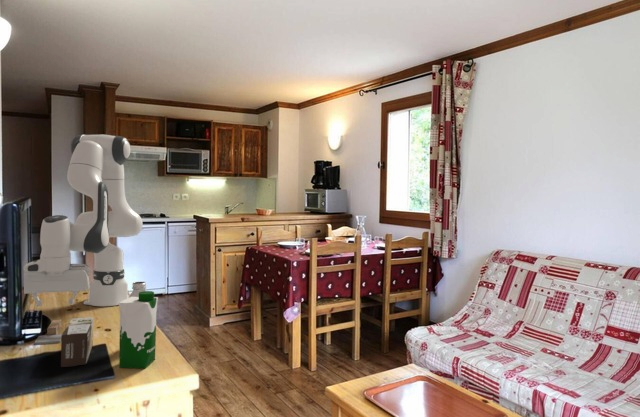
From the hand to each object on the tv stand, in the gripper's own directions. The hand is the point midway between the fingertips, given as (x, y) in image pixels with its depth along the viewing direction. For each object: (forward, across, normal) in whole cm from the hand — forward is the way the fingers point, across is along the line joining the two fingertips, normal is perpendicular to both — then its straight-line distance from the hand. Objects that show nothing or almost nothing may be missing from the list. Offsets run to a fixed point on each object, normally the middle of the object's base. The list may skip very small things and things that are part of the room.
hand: (55, 304), depth 152 cm
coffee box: (+4, -10, +20) cm, 23 cm away
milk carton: (+8, -26, +39) cm, 48 cm away
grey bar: (+9, 0, +6) cm, 10 cm away
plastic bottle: (+8, -26, +25) cm, 37 cm away
